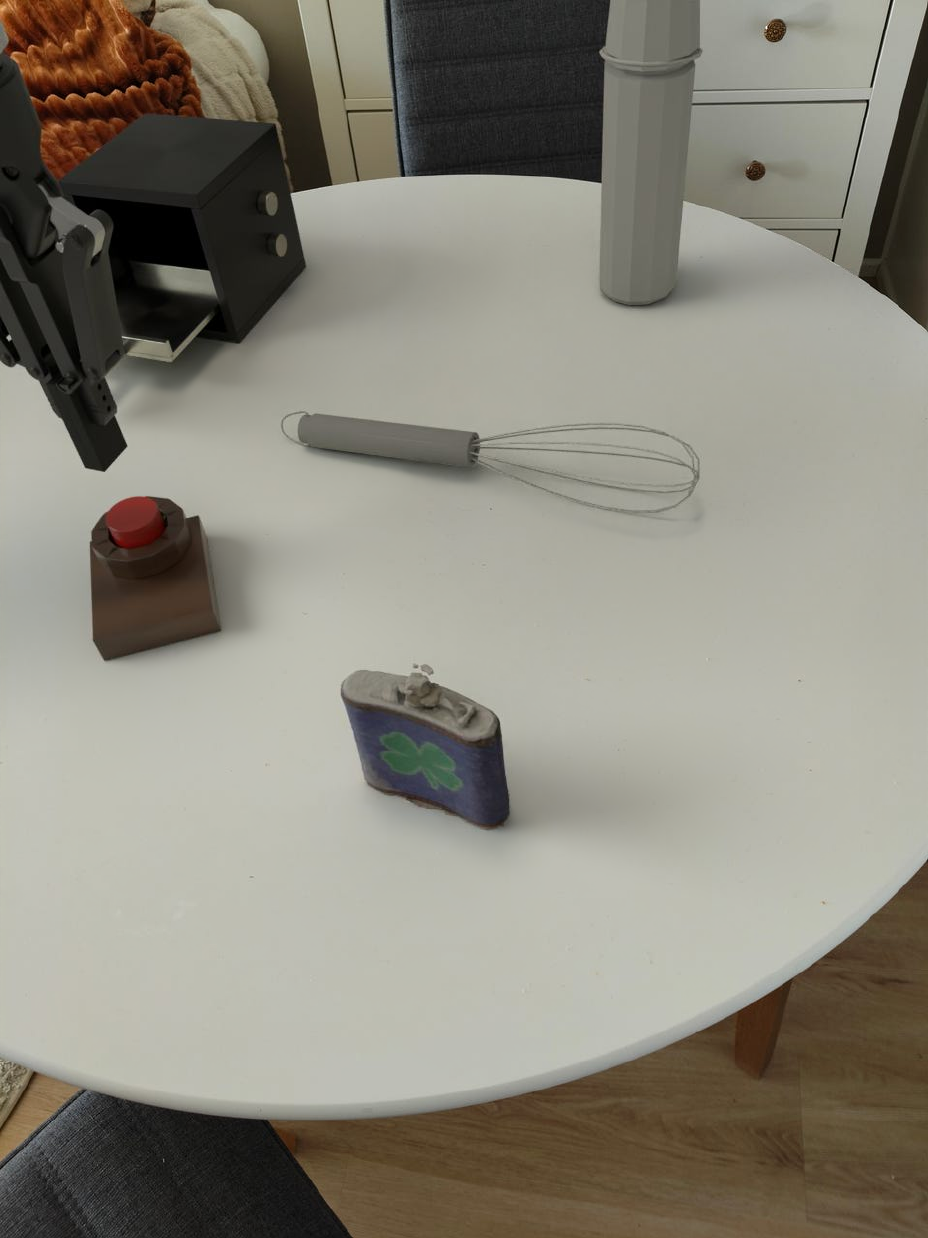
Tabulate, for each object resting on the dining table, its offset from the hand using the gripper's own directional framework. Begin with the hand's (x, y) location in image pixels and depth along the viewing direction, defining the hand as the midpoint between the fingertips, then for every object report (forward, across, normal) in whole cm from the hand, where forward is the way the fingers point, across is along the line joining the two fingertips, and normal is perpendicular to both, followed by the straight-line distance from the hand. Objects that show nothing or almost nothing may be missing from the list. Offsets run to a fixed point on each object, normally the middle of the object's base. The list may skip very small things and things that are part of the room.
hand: (106, 456), depth 65 cm
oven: (+10, -15, +35) cm, 39 cm away
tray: (+7, -15, +22) cm, 28 cm away
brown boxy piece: (+10, +2, -2) cm, 11 cm away
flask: (+11, +27, -11) cm, 31 cm away
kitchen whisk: (+11, +20, +16) cm, 27 cm away
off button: (+7, 0, 0) cm, 7 cm away
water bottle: (+11, +25, +46) cm, 53 cm away
